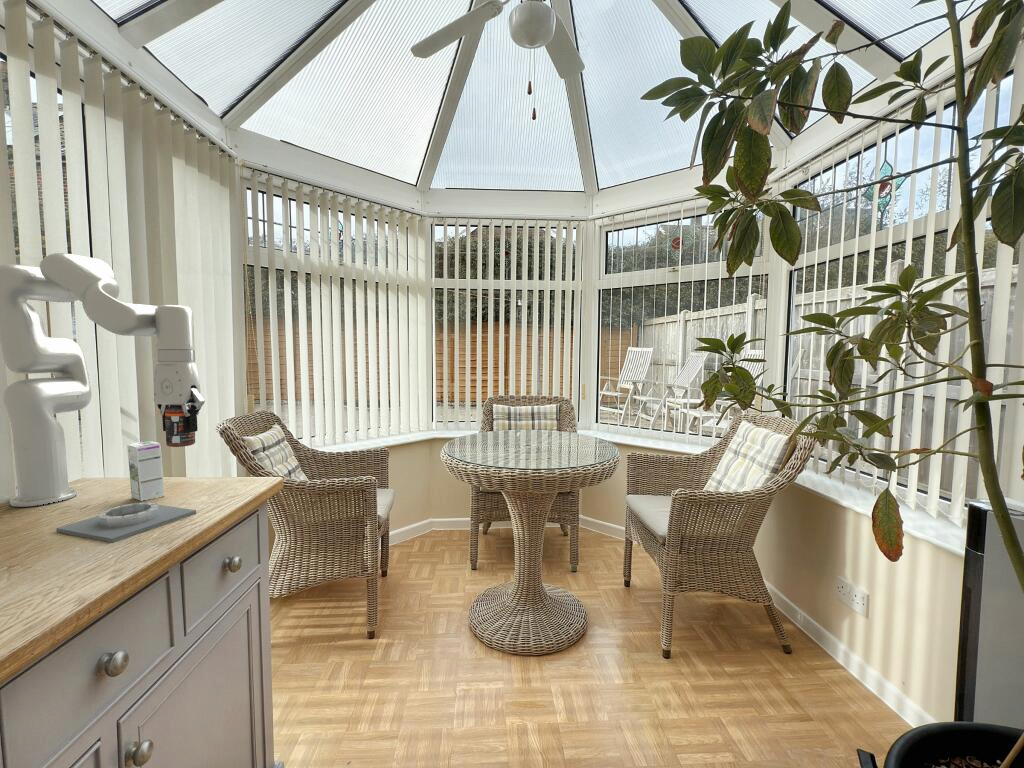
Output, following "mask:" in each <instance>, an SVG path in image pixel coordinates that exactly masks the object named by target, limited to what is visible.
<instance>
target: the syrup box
mask: <svg viewBox="0 0 1024 768" xmlns="http://www.w3.org/2000/svg"><path fill="white" fill-rule="evenodd" d="M162 458H163V457H162V447H161V443H160V442H155V441H153V440H150V441H149V440H148V441H147V440H146V441H140V442H134V443H130V444H127V459H128V467H129V468H128V469H129V481H130V493H131V498H132V499H134V500H136V501H138V500H139V501H138V502H144V501H143V500H146V501H149V500H148V499H151V500H153V499H152V498H155V499H157V498H156V497H159V498H161V497H160V496H163V497H165V496H164V495H165V483H164V482H165V481H164V470H163V460H162Z"/></svg>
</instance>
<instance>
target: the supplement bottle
mask: <svg viewBox="0 0 1024 768" xmlns="http://www.w3.org/2000/svg"><path fill="white" fill-rule="evenodd" d="M186 403H189V401H188V402H186ZM188 408H189V409H190V408H191V406H188ZM184 416H185V414H184V411H183V408H182V405H169V408H168V409H166V411H165V425H166V431H165V442H166V443H165V444H166V446H167V447H171V448H181V447H189V446H192V445H195V444H196V434H197V433H196V432H190V433H184V431H183V417H184Z"/></svg>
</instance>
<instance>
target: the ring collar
mask: <svg viewBox="0 0 1024 768" xmlns="http://www.w3.org/2000/svg"><path fill="white" fill-rule="evenodd" d="M157 505H158V504H157V503H155V502H148V501H147V502H134V503H128V504H122V505H118V506H115V507H111V508H108V509H106V510H103V511H102V512H100V513H99V512H98V516H99V526H102V527H108V528H109V527H123V526H128V525H134V524H139V523H142V522H145V521H148V520H151V519H153V518H155V517H156V516H158V506H157ZM132 513H136V514H132ZM127 514H131V515H127ZM122 515H125V516H122Z"/></svg>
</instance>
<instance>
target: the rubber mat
mask: <svg viewBox="0 0 1024 768" xmlns="http://www.w3.org/2000/svg"><path fill="white" fill-rule="evenodd" d="M157 506H158V516H156V517H155V518H153V519H151V520H148V521H145V522H142V523H139V524H134V525H128V526H123V527H109V528H108V527H102V526H99V515H95V516H94V517H93V516H92V517H90V518H86V519H82V520H79V521H75V522H73V523H69V524H65V525H62V526H59V527H56V529H55V530H56V531H57V533H60V532H61V533H62V534H66V535H71V536H78V537H80V538H81V537H83V538H87V539H93V540H98V541H101V542H107V543H116V542H117V541H120V540H123V539H126V538H129V537H132V536H136V535H138V534H141V533H144V532H147V531H150V530H153V529H155V527H156V528H158V526H159V527H161V526H164V525H167V524H169V523H173V522H176V521H178V520H181V518H182V519H184V518H187V517H190V516H193V515H196V514H197V510H196V509H190V508H185V507H178V506H176V507H175V506H170V505H164V504H163V505H162V504H157ZM132 514H136V513H132ZM127 515H131V514H127ZM122 516H125V515H122ZM149 529H150V530H149Z"/></svg>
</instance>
